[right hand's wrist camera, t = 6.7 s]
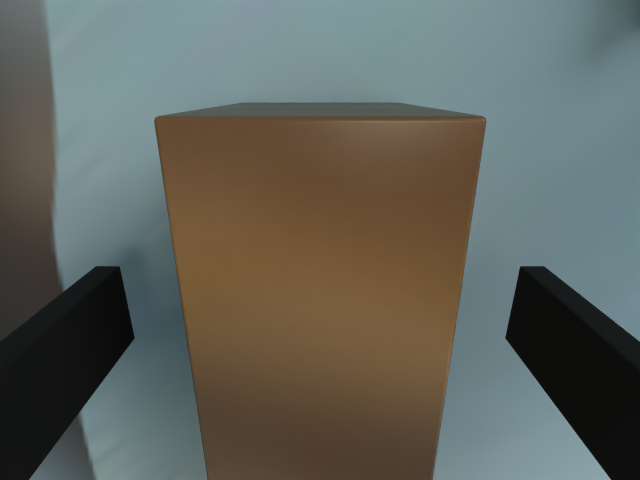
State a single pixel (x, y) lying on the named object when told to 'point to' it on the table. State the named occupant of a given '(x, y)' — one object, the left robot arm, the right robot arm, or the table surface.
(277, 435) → the bar
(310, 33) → the table surface
